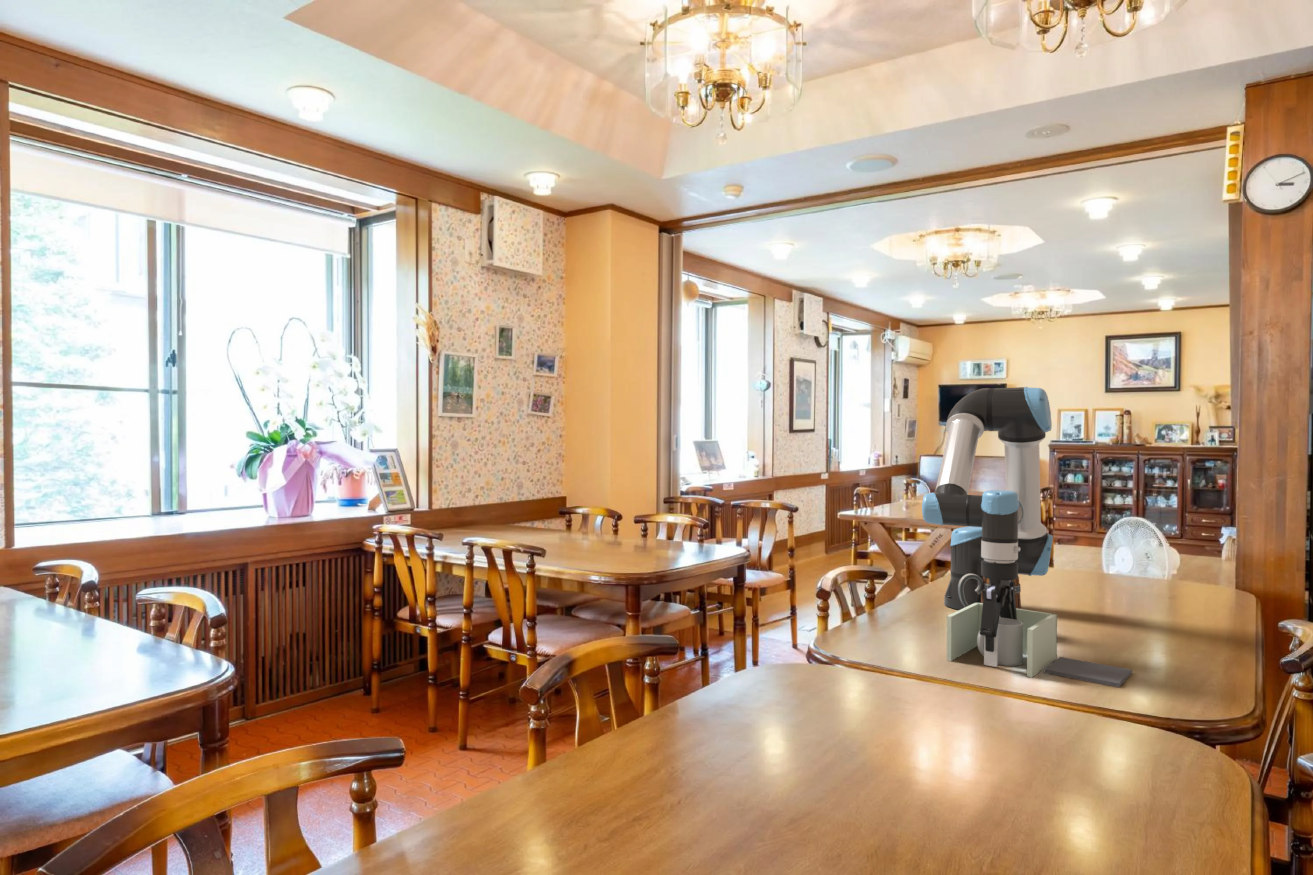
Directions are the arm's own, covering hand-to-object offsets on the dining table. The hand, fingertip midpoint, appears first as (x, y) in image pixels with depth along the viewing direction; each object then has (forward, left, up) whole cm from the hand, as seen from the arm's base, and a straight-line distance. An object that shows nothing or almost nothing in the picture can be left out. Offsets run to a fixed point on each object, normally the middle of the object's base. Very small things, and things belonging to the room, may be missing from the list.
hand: (998, 660), depth 176 cm
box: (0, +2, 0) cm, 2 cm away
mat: (+17, +4, 0) cm, 17 cm away
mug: (-10, +24, 0) cm, 26 cm away
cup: (0, 0, 0) cm, 0 cm away
